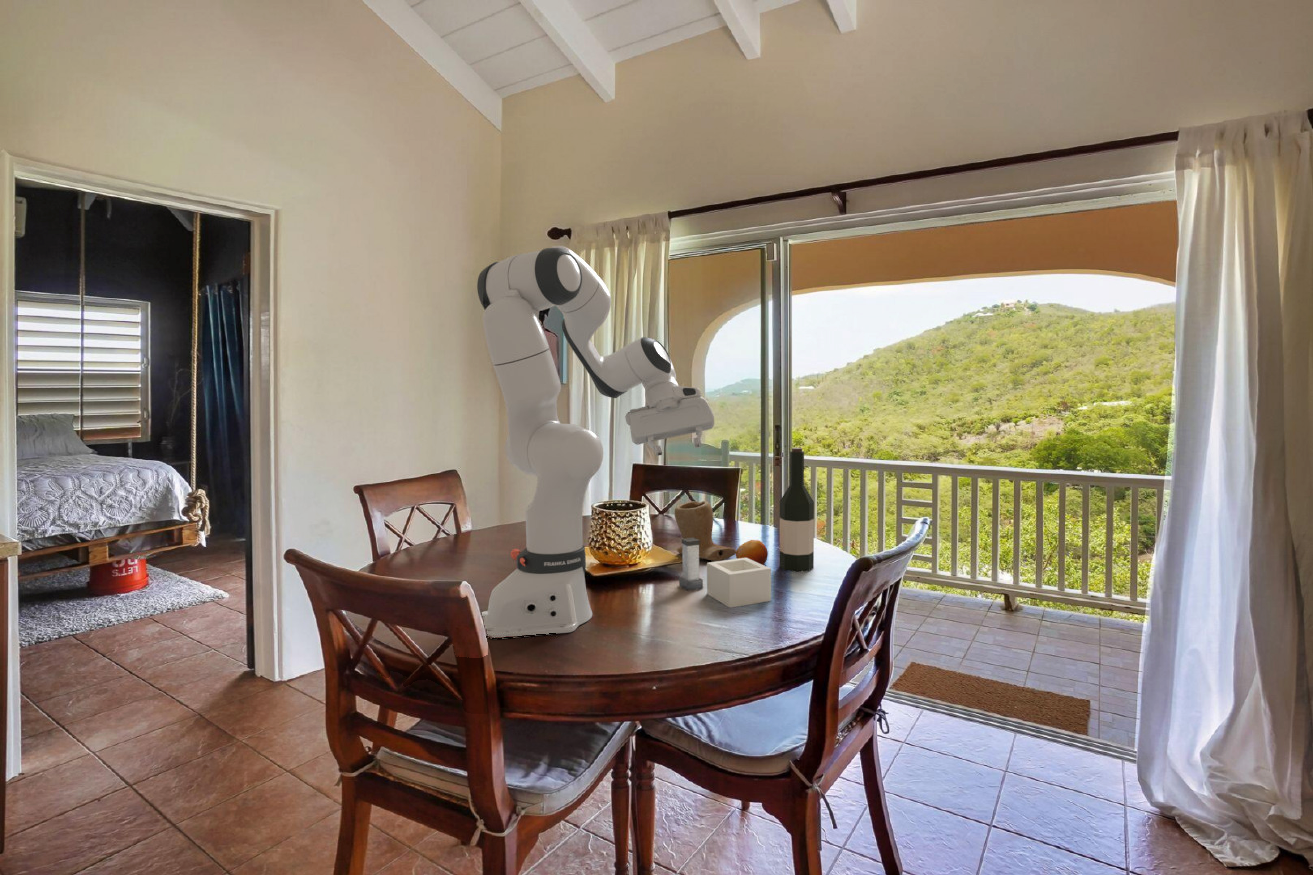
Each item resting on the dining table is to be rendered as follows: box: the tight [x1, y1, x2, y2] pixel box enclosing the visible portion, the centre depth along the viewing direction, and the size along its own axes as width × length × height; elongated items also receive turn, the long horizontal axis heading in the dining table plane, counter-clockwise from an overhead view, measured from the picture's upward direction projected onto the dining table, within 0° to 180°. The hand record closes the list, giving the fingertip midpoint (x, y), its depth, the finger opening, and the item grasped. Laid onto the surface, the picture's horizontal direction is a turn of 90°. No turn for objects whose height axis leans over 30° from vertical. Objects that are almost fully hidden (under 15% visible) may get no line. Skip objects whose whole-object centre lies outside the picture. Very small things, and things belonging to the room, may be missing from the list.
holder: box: [706, 558, 772, 608], centre depth 143 cm, size 10×10×7 cm
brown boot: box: [674, 500, 737, 562], centre depth 176 cm, size 15×12×15 cm
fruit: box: [735, 539, 769, 567], centre depth 167 cm, size 8×8×8 cm
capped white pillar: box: [678, 538, 704, 592], centre depth 151 cm, size 4×4×11 cm
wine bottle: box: [779, 447, 815, 573], centre depth 165 cm, size 8×8×30 cm
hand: (678, 450), depth 155 cm, fingers open, 8 cm apart
